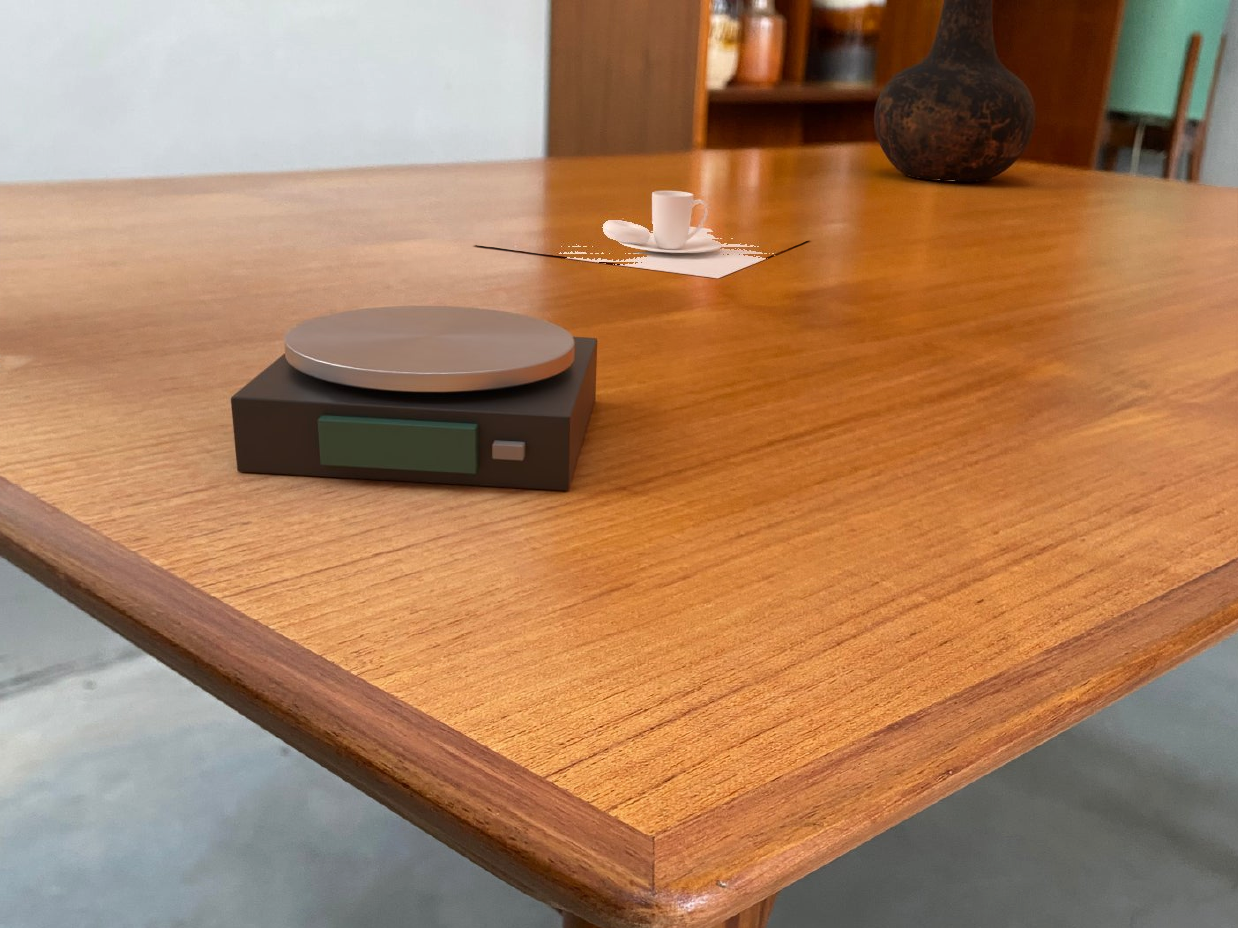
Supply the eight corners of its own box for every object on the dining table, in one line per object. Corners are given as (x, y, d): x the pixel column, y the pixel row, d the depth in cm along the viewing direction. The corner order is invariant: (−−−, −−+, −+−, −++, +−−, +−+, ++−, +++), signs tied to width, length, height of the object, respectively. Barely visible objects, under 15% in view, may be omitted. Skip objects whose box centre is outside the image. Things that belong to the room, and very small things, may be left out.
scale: (231, 477, 51) (224, 401, 50) (324, 385, 63) (321, 322, 62) (567, 497, 51) (568, 421, 49) (595, 400, 63) (597, 337, 62)
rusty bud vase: (1032, 177, 158) (1075, -90, 146) (1015, 193, 143) (1062, -103, 131) (884, 164, 164) (914, -93, 151) (853, 179, 148) (884, -107, 136)
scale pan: (245, 383, 51) (244, 363, 50) (328, 316, 61) (327, 298, 61) (558, 401, 50) (559, 381, 50) (586, 330, 61) (586, 313, 61)
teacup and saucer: (590, 249, 100) (591, 192, 98) (635, 235, 106) (637, 182, 105) (696, 262, 97) (700, 204, 95) (736, 248, 103) (740, 193, 101)
